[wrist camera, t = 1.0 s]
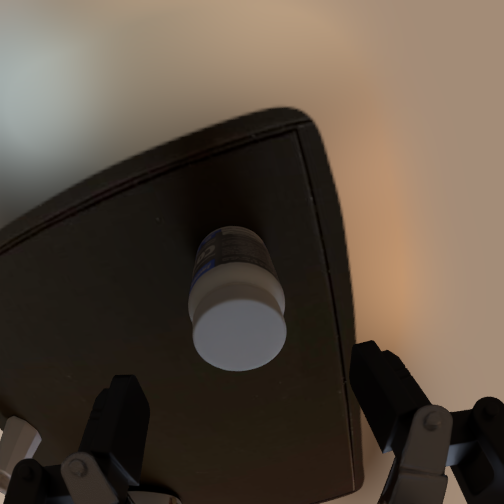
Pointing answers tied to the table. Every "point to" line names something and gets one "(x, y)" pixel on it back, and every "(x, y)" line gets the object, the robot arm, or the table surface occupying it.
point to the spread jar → (153, 495)
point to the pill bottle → (236, 301)
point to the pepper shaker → (16, 447)
